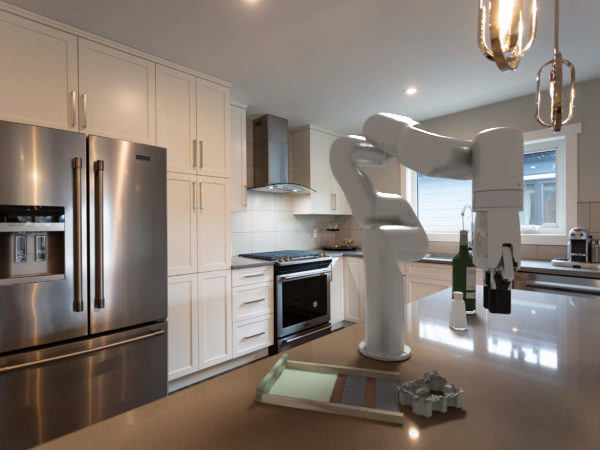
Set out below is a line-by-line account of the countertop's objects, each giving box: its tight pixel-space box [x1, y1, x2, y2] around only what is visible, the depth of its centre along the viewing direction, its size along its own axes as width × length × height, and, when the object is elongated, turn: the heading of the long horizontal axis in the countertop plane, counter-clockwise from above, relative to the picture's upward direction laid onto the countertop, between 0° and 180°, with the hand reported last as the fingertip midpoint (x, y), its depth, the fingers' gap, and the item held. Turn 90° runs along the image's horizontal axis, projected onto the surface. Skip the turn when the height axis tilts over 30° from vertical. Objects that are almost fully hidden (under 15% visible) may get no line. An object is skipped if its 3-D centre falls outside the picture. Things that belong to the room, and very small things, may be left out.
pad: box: [268, 367, 339, 402], centre depth 64 cm, size 14×12×1 cm
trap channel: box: [255, 353, 404, 425], centre depth 63 cm, size 16×25×2 cm, turn 75°
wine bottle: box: [451, 229, 477, 311], centre depth 120 cm, size 8×8×30 cm
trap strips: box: [339, 374, 400, 413], centre depth 61 cm, size 14×10×1 cm
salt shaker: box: [448, 292, 468, 328], centre depth 101 cm, size 5×5×11 cm
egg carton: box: [396, 369, 466, 418], centre depth 58 cm, size 11×8×4 cm
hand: (496, 310), depth 56 cm, fingers closed
